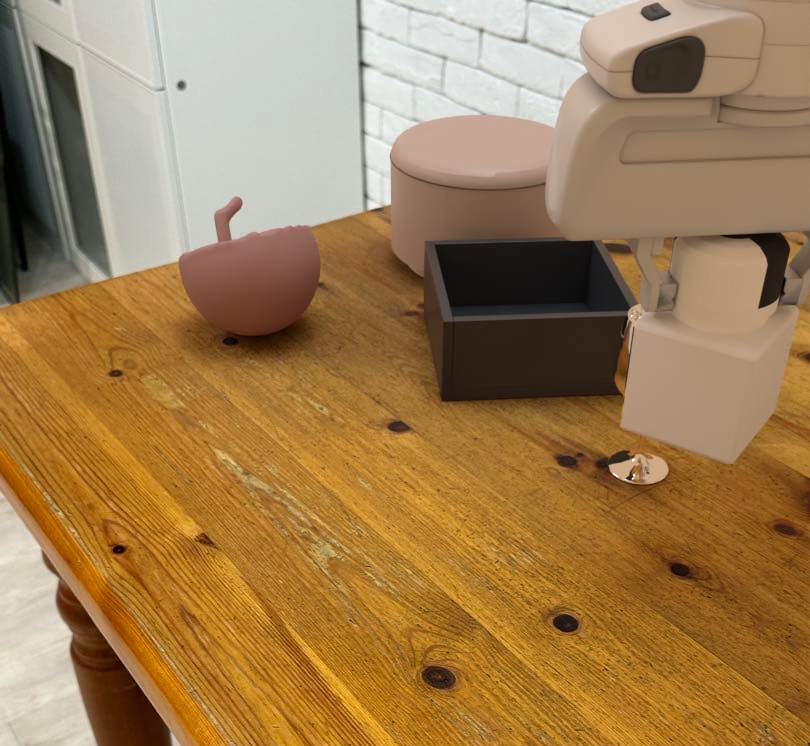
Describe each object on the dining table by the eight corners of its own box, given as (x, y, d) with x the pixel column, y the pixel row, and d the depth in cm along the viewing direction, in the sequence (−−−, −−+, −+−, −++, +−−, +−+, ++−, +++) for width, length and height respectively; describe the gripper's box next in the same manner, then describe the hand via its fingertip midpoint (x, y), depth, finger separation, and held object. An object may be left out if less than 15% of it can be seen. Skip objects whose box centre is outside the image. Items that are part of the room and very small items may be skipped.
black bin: (590, 308, 97) (599, 235, 93) (632, 393, 85) (644, 314, 81) (423, 313, 96) (424, 240, 92) (441, 401, 84) (443, 321, 80)
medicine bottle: (666, 380, 67) (697, 195, 59) (775, 413, 64) (823, 222, 56) (616, 430, 62) (643, 236, 55) (731, 468, 59) (776, 268, 52)
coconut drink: (285, 288, 100) (276, 168, 93) (347, 338, 92) (343, 211, 85) (167, 318, 95) (149, 194, 88) (223, 374, 87) (207, 242, 80)
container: (362, 240, 109) (359, 124, 102) (512, 213, 115) (520, 102, 108) (439, 310, 97) (442, 184, 89) (603, 275, 103) (618, 155, 95)
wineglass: (625, 497, 74) (651, 344, 66) (583, 455, 78) (602, 306, 70) (693, 478, 75) (725, 327, 68) (648, 439, 80) (674, 292, 72)
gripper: (952, 13, 52) (877, 272, 61) (549, 25, 51) (531, 287, 60) (1020, 45, 48) (928, 322, 56) (576, 59, 46) (552, 339, 55)
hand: (720, 304), depth 58 cm, fingers closed on medicine bottle, 6 cm apart
